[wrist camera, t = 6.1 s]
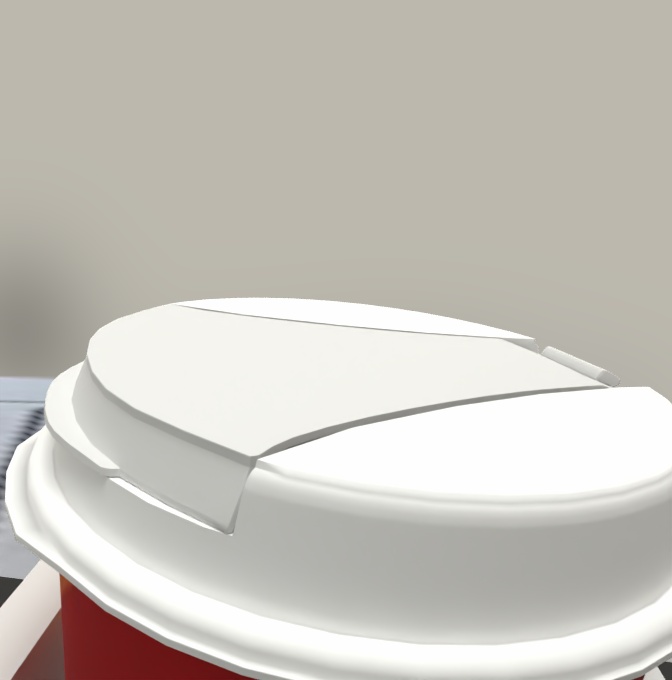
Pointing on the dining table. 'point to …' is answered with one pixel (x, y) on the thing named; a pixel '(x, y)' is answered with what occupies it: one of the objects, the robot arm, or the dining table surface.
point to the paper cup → (347, 501)
